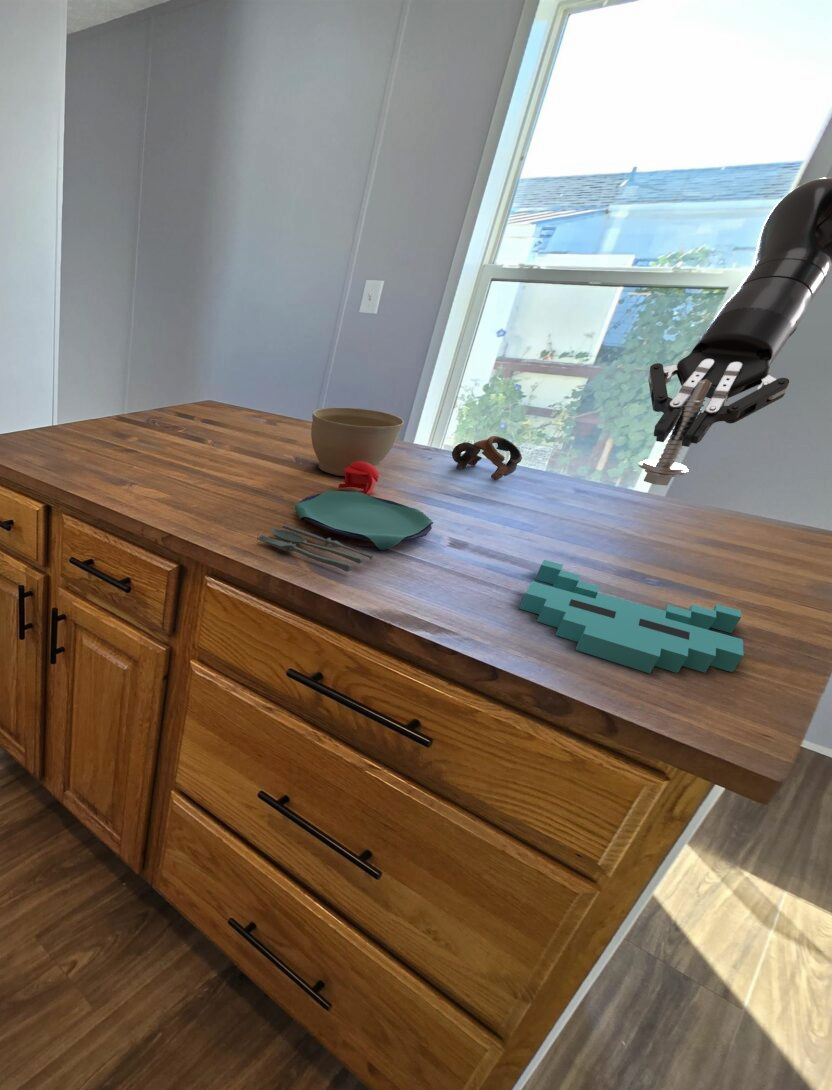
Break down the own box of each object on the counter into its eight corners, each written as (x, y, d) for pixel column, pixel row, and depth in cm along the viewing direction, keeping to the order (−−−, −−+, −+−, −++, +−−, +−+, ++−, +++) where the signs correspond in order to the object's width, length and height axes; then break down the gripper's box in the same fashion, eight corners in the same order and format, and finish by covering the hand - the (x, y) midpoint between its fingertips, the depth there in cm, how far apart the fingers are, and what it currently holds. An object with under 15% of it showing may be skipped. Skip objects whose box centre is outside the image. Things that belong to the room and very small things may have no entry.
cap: (346, 484, 124) (354, 453, 121) (379, 492, 120) (388, 460, 117) (329, 494, 119) (337, 462, 116) (363, 503, 115) (372, 470, 112)
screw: (629, 481, 85) (636, 473, 88) (677, 491, 82) (683, 482, 85) (677, 378, 79) (683, 373, 82) (732, 384, 76) (736, 379, 79)
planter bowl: (401, 471, 131) (417, 417, 125) (367, 490, 121) (383, 431, 116) (323, 453, 141) (335, 402, 135) (286, 469, 131) (298, 414, 126)
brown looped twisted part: (483, 466, 136) (517, 437, 129) (497, 499, 131) (533, 471, 124) (433, 451, 134) (465, 421, 127) (445, 484, 129) (479, 455, 122)
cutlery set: (449, 529, 105) (454, 516, 104) (358, 583, 89) (362, 568, 88) (333, 495, 119) (336, 482, 118) (234, 536, 102) (237, 522, 101)
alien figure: (537, 573, 92) (508, 628, 79) (544, 559, 91) (515, 612, 78) (731, 626, 80) (733, 700, 67) (741, 610, 79) (745, 682, 66)
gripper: (683, 301, 84) (607, 411, 83) (840, 310, 74) (755, 434, 74) (676, 341, 89) (604, 445, 89) (821, 355, 79) (741, 471, 79)
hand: (673, 439), depth 81 cm, fingers closed on screw, 2 cm apart
